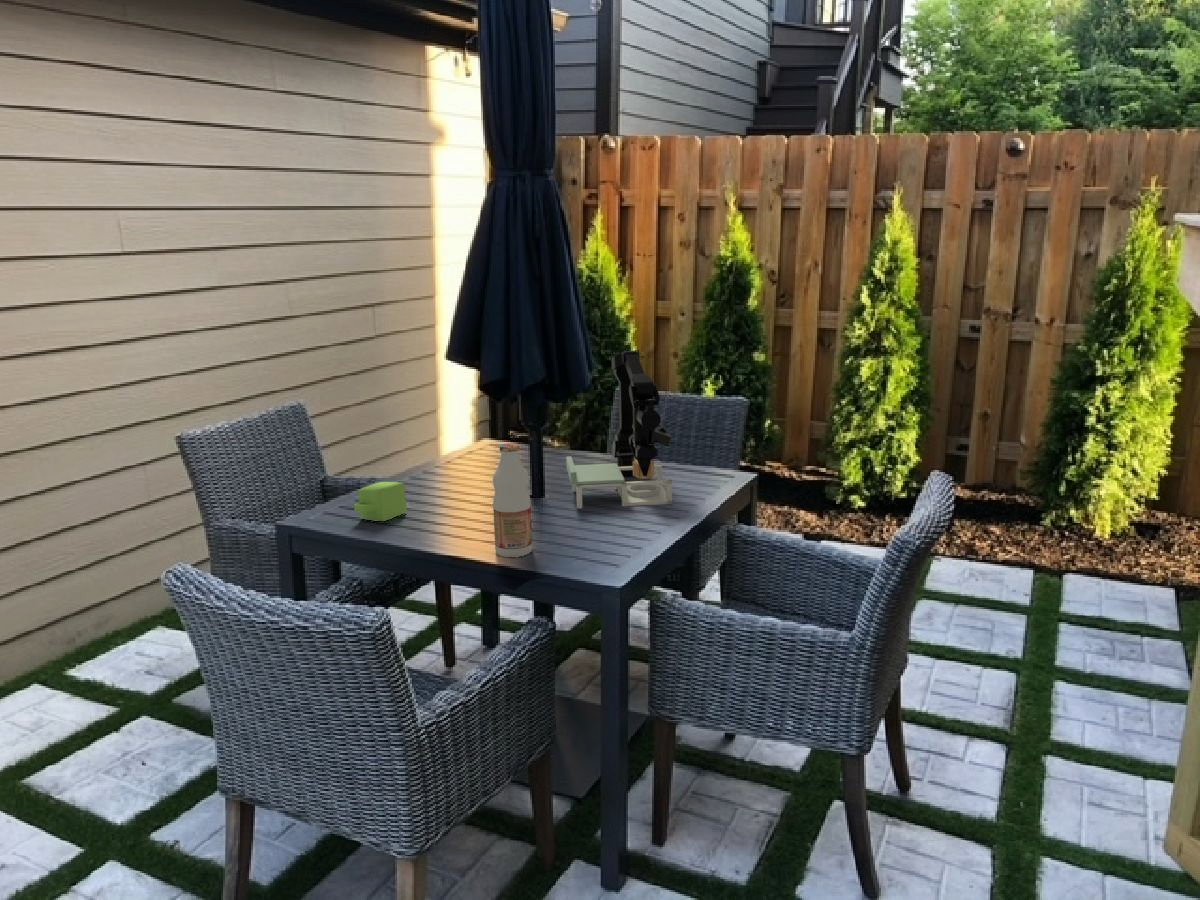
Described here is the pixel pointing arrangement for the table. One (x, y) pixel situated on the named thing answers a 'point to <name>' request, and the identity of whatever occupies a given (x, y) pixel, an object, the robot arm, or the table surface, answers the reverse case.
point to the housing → (635, 490)
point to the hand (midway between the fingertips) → (643, 473)
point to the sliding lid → (593, 473)
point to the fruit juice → (511, 505)
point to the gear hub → (638, 472)
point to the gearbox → (381, 501)
